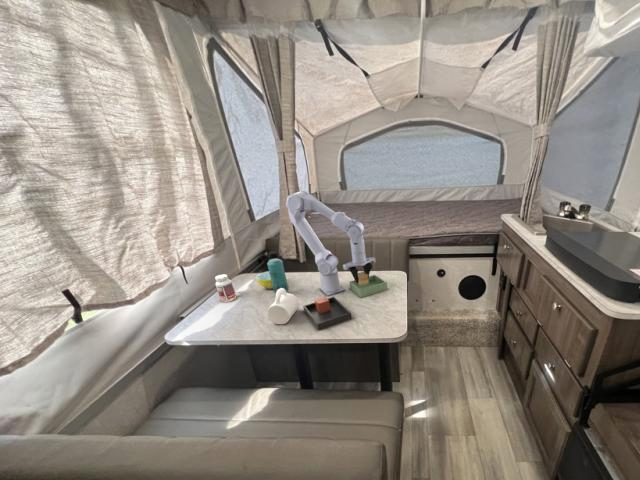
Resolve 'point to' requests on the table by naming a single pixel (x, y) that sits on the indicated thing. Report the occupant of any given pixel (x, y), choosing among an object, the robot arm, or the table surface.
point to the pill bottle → (225, 288)
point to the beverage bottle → (277, 272)
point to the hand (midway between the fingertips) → (361, 280)
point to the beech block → (362, 278)
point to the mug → (283, 307)
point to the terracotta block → (322, 305)
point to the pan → (327, 314)
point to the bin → (369, 286)
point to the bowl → (265, 280)
